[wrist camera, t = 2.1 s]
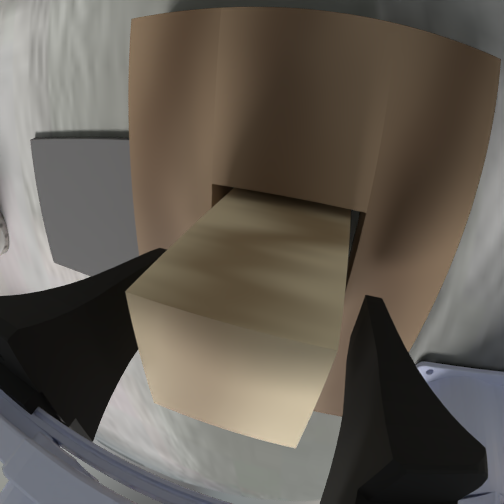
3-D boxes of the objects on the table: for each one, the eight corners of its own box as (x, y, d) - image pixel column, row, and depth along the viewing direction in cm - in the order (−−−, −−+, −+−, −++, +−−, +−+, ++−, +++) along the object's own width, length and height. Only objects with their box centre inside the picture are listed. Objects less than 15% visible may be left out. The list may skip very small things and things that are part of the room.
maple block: (351, 199, 14) (338, 350, 6) (330, 289, 16) (295, 448, 9) (243, 179, 15) (125, 291, 7) (238, 268, 17) (154, 402, 10)
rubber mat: (143, 139, 15) (139, 140, 15) (156, 294, 20) (153, 297, 20) (34, 138, 17) (30, 139, 17) (57, 259, 22) (54, 262, 22)
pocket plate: (476, 62, 9) (500, 59, 7) (368, 390, 19) (365, 420, 17) (163, 24, 12) (131, 19, 10) (174, 340, 22) (158, 364, 20)
